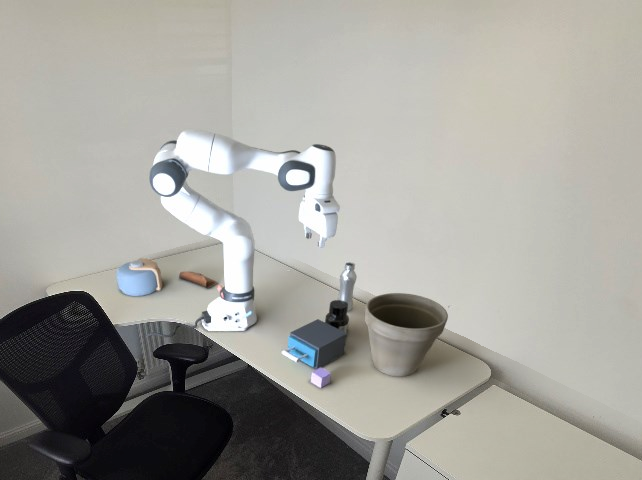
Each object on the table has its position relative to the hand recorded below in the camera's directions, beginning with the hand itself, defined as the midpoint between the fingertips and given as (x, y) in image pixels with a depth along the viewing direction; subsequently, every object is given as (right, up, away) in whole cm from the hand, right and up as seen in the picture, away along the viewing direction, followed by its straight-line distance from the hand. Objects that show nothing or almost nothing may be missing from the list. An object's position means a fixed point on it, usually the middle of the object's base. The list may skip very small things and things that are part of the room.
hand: (314, 242), depth 150 cm
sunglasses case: (-46, -1, +58) cm, 74 cm away
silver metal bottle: (+18, -18, +35) cm, 43 cm away
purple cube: (+1, -48, -6) cm, 49 cm away
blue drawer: (-2, -39, +5) cm, 39 cm away
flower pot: (+28, -42, +2) cm, 51 cm away
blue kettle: (-73, -5, +53) cm, 90 cm away
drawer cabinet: (+2, -38, +8) cm, 39 cm away
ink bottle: (+11, -29, +20) cm, 37 cm away
